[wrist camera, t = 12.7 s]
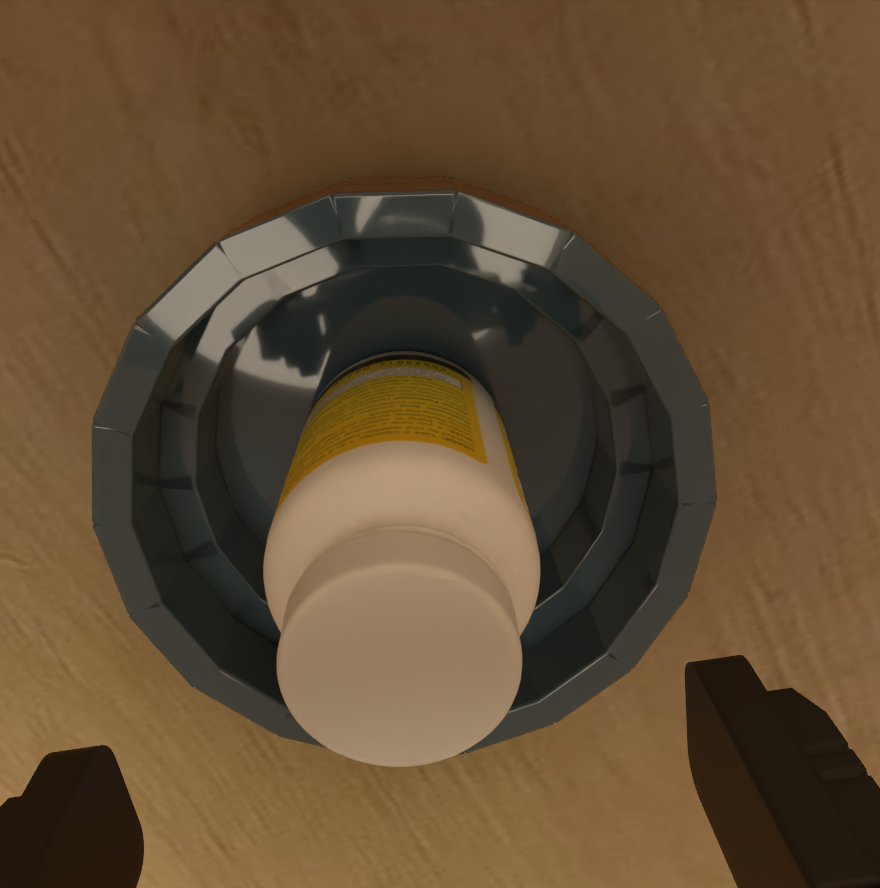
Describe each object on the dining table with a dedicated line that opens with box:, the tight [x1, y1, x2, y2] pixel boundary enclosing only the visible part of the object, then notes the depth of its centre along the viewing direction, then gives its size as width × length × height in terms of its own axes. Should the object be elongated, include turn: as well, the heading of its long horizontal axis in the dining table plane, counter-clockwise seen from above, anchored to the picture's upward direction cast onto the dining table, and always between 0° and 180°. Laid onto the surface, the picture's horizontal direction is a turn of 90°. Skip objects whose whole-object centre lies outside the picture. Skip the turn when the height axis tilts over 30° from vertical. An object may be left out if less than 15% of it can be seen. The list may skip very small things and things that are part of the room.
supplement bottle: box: [263, 351, 540, 767], centre depth 18 cm, size 5×5×10 cm
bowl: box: [92, 176, 717, 754], centre depth 21 cm, size 14×14×5 cm
